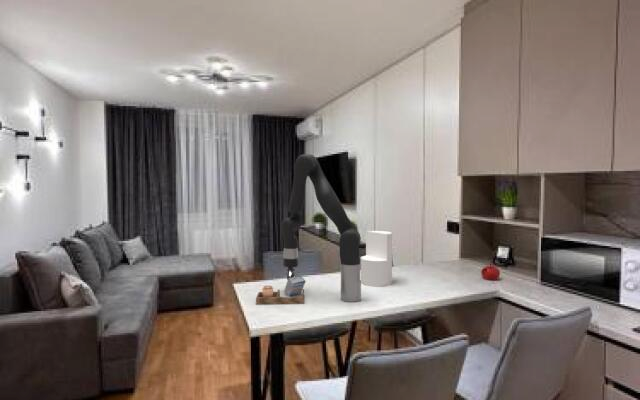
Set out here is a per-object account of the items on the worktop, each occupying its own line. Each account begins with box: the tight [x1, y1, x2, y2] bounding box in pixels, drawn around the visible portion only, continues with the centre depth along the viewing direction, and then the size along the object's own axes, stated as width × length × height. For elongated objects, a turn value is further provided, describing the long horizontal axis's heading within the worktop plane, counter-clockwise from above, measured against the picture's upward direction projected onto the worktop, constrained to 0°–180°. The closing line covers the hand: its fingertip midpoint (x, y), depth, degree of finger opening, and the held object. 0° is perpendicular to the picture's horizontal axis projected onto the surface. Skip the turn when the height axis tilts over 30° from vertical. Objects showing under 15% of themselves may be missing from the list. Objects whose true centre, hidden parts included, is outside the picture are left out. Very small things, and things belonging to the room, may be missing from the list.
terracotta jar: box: [261, 285, 274, 297], centre depth 176 cm, size 5×5×7 cm
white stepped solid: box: [360, 230, 393, 288], centre depth 210 cm, size 17×17×28 cm
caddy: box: [255, 288, 305, 306], centre depth 178 cm, size 22×13×4 cm, turn 92°
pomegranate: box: [480, 262, 501, 281], centre depth 217 cm, size 10×10×9 cm
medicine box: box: [283, 275, 307, 297], centre depth 186 cm, size 8×4×9 cm, turn 132°
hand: (290, 290), depth 191 cm, fingers closed
